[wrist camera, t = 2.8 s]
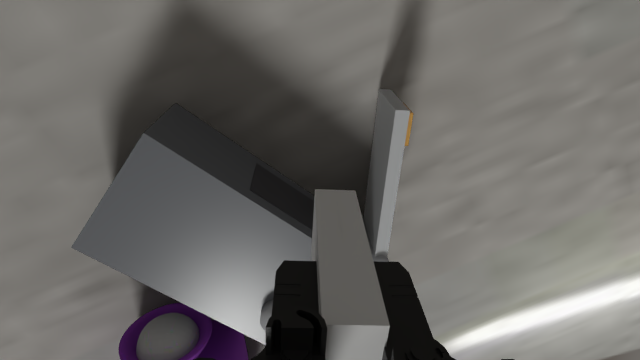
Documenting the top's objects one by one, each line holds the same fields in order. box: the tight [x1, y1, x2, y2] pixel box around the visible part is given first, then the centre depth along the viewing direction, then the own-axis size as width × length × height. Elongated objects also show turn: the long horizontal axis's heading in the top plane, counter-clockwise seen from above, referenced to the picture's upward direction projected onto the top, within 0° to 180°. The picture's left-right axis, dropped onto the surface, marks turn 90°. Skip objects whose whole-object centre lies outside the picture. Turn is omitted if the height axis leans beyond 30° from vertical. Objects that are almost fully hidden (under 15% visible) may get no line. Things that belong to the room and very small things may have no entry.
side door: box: [362, 89, 413, 262], centre depth 26 cm, size 10×2×6 cm, turn 177°
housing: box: [71, 103, 314, 345], centre depth 27 cm, size 18×9×7 cm, turn 52°
